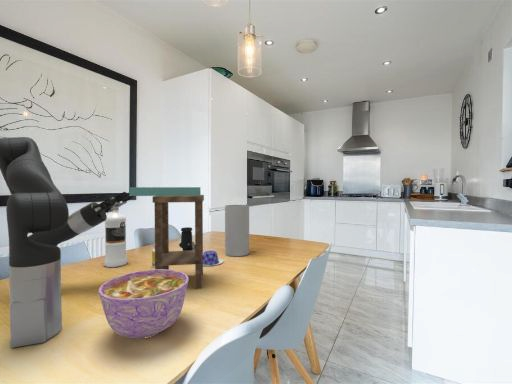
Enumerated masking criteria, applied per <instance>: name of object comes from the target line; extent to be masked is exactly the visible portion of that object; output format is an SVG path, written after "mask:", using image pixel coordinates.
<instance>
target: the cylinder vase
mask: <svg viewBox="0 0 512 384" xmlns="http://www.w3.org/2000/svg"><path fill="white" fill-rule="evenodd" d="M224 253H225V255H226V256H229V257H234V258H235V257H245V256H247V255H249V254H250V205H249V204H248V205H247V204H227V205H224Z"/></svg>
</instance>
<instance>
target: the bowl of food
mask: <svg viewBox="0 0 512 384" xmlns="http://www.w3.org/2000/svg"><path fill="white" fill-rule="evenodd" d="M189 280H190V278H189V276H188V274H186V273H184V272H183V271H179V270H174V269H169V270H166V269H157V270H155V269H147V270H138V271H134V272H129V273H128V272H127V273H125V274H121V275H119V276H116V277H113V278H111V279H109V280H106V281H105V282H104V283H103V284H101V285H100V286H99V289H98V294H99V295H98V296H99V299H100V302H101V305H102V310H103V312H104V313H103V314H104V316H105V318H106V322H107V323H108V326H109V327H110V328H111V330H112V331H113V332H114V333H116V334H117V335H118V336H119V335H120V336H122V337H126V338H127V337H128V338H132V337H133V339H137V338H141V339H146V338H145V337H148V338H151V337H150V336H152V337H154V336H157V335H158V334H160V333H161V332H162V331H163V332H164V331H165V330H167V328H170V327H171V326H172V325H174V323H175V322H176V321H177V320H178V318H179V317H180V314H181V312H182V309H183V307H184V306H183V305H184V302H185V298H186V293H187V289H188V285H189ZM159 332H160V333H159ZM153 335H154V336H153Z"/></svg>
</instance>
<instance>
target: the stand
mask: <svg viewBox="0 0 512 384" xmlns="http://www.w3.org/2000/svg"><path fill="white" fill-rule="evenodd" d="M204 201H205V195H204V194H201V195H200V196H152V203H154V244H155V247H154V248H155V267H154V270H157V269H166V270H170V266H185V265H186V266H188V265H189V266H190V265H194V267H195V272H194V273H195V277H194V278H195V283H194V284H195V286H194V287H195V289H196V290H199V289H202V288H203V287H202V284H203V281H202V280H203V278H202V276H204V264H203V253H204V242H203V241H204V239H203V238H204V237H203V235H204V234H203V230H204V229H203V227H204V226H203V223H204V221H203V219H204V218H203V216H204V215H203V211H204V209H203V208H204V206H203V205H204V204H203V202H204ZM169 203H194V224H195V225H194V229H195V230H194V240H195V241H194V244H195V250H191V251H183V250H175V251H174V250H171V251H170V250H169V249H170V247H169V244H170V242H169V240H170V239H169V233H170V232H169V231H170V230H169Z"/></svg>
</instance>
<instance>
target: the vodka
mask: <svg viewBox="0 0 512 384" xmlns="http://www.w3.org/2000/svg"><path fill="white" fill-rule="evenodd" d="M119 208H120V207H119ZM119 208H117V209H115V210H114V211H112V212H110V213H109V214H108V215H107V219H106V220H105V221H104V227H105V229H104V230H105V243H104V245H105V246H104V247H105V254H104V261H103V265H104V267H106V268H118V267H122V266H123V267H124V266H125V265H126V264H127V263H128V256H127V255H128V254H127V241H126V240H127V235H126V233H127V232H126V231H127V230H126V229H127V228H126V226H127V224H126V223H127V218H126V216H125V215H124V214H122V213H121V212H120V210H119Z"/></svg>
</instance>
